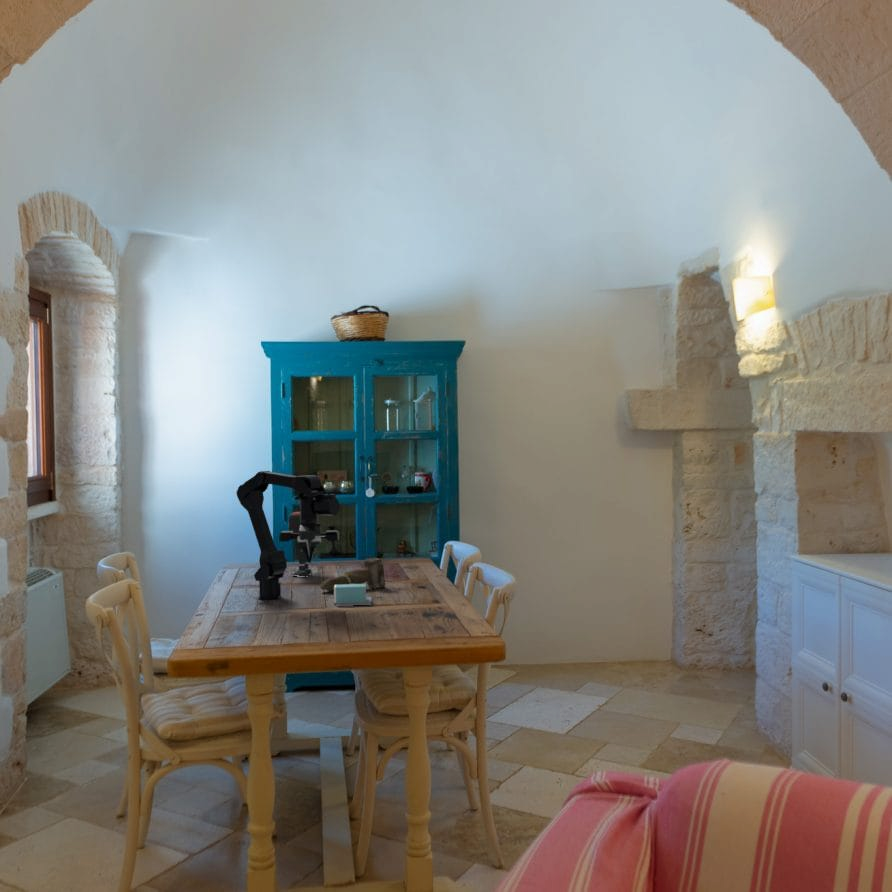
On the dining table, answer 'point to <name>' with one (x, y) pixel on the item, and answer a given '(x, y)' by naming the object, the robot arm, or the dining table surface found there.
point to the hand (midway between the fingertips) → (309, 562)
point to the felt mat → (368, 602)
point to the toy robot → (299, 545)
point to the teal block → (349, 593)
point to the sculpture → (359, 576)
